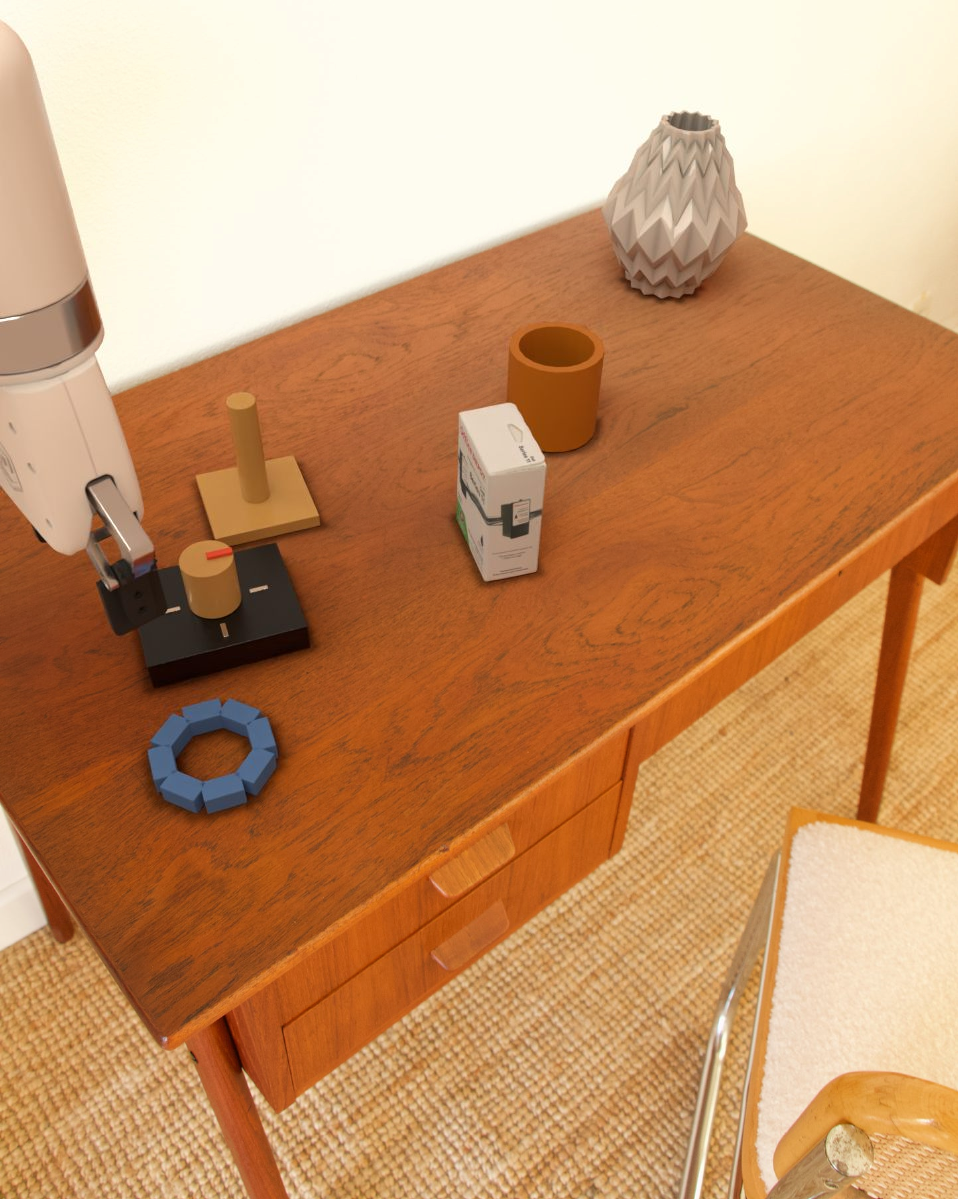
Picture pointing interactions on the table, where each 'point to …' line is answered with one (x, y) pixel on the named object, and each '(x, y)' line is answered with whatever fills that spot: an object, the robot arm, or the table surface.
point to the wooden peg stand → (254, 486)
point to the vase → (676, 207)
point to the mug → (556, 382)
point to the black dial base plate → (226, 622)
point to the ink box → (500, 490)
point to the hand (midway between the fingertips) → (100, 574)
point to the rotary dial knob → (210, 579)
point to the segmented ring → (220, 789)
